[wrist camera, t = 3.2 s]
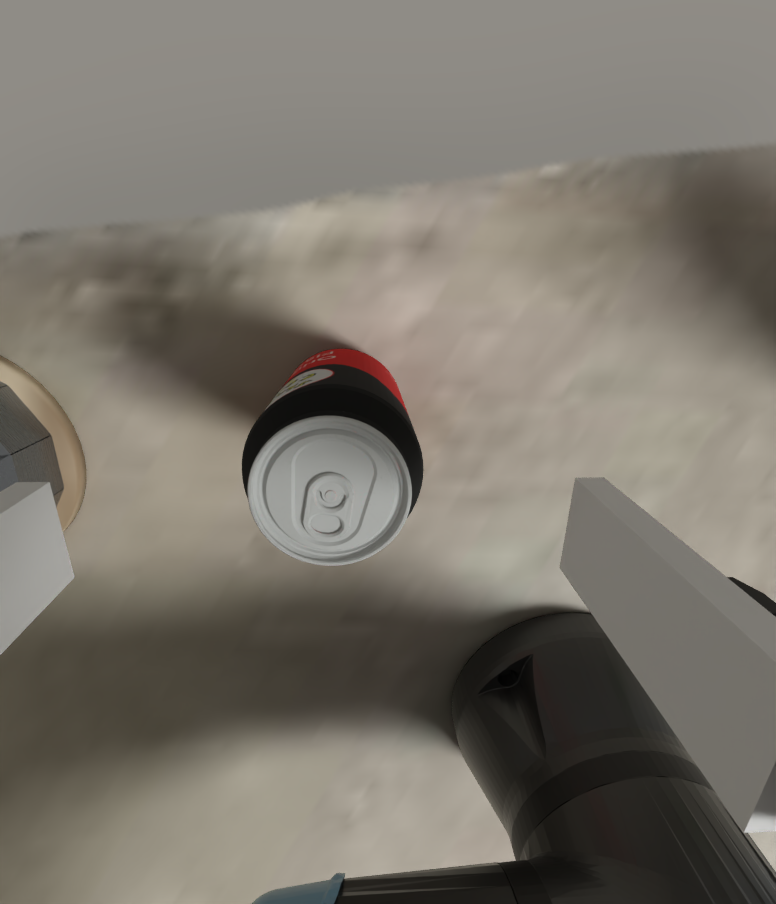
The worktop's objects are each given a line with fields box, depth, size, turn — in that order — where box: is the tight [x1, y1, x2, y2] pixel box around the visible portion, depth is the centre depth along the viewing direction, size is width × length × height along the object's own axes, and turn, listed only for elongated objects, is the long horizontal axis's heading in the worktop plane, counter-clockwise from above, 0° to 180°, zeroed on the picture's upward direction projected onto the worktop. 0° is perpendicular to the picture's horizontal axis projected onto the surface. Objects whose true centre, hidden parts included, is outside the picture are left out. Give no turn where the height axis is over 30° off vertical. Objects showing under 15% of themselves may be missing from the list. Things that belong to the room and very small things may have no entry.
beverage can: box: [242, 349, 423, 566], centre depth 20 cm, size 6×6×12 cm
